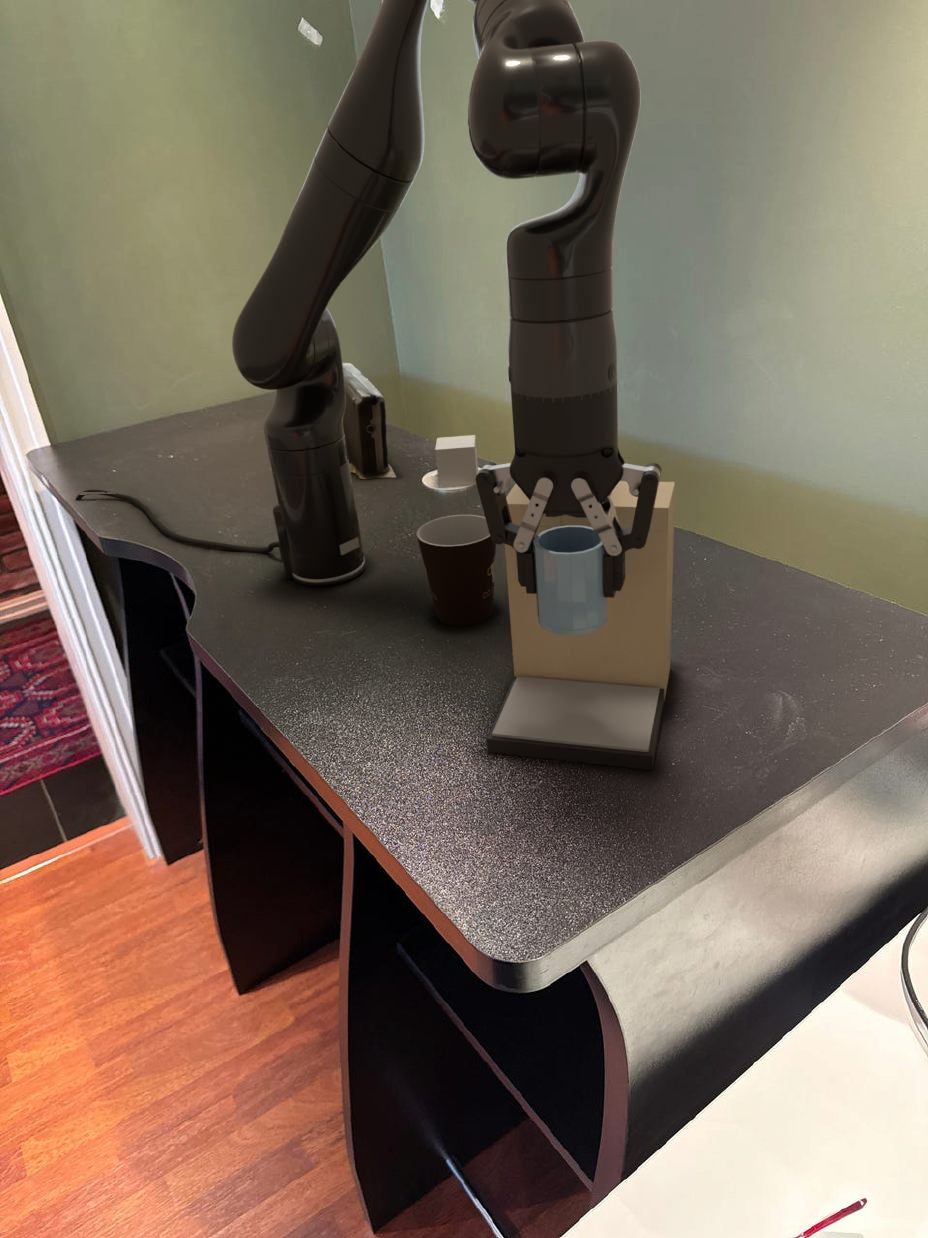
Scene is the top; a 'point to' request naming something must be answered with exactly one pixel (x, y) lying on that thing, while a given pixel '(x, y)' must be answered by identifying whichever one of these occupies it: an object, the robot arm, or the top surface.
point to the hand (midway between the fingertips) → (571, 590)
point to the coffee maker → (593, 656)
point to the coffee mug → (459, 567)
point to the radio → (365, 426)
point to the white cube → (456, 460)
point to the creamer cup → (570, 580)
